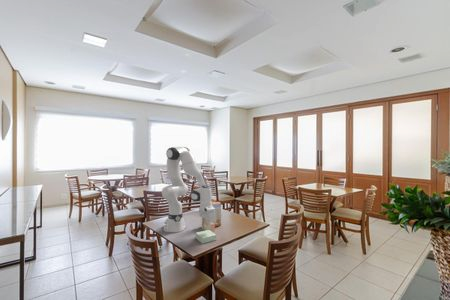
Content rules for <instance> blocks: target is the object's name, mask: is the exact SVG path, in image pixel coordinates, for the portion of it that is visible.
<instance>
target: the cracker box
mask: <svg viewBox="0 0 450 300" xmlns="http://www.w3.org/2000/svg"><path fill="white" fill-rule="evenodd" d="M211 202H212V201H211ZM212 206H213V207H214V208H215V211H214V222H212V223H215V227H221V226H222V203H221V202H220V201H213V202H212Z"/></svg>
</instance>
